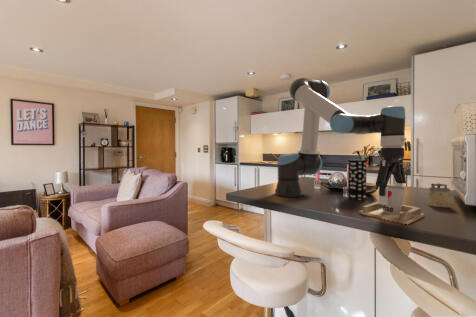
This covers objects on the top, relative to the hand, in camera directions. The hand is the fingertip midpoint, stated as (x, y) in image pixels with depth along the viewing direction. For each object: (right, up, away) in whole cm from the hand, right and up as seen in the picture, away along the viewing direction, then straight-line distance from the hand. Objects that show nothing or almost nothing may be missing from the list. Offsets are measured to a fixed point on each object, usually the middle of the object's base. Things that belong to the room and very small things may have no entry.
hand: (391, 201), depth 83 cm
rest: (0, -5, 0) cm, 5 cm away
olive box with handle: (+29, -5, +11) cm, 31 cm away
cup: (0, -4, 0) cm, 4 cm away
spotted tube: (+2, -4, +28) cm, 28 cm away
